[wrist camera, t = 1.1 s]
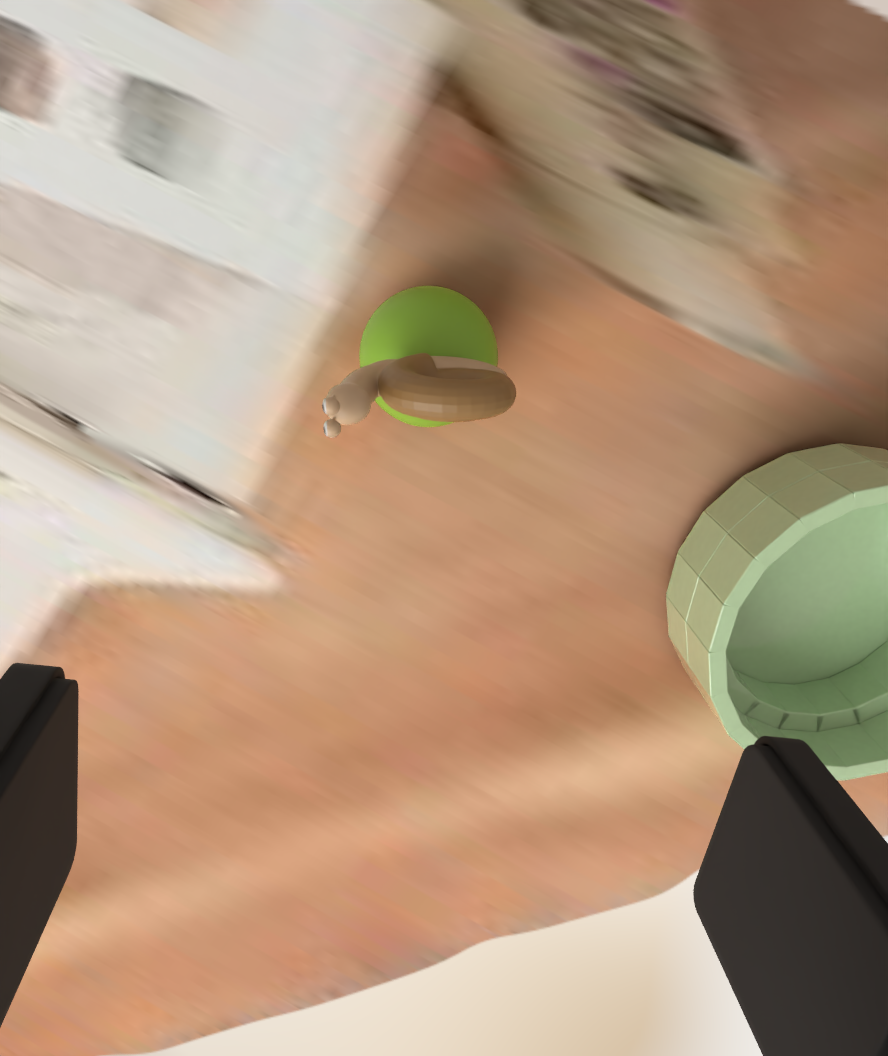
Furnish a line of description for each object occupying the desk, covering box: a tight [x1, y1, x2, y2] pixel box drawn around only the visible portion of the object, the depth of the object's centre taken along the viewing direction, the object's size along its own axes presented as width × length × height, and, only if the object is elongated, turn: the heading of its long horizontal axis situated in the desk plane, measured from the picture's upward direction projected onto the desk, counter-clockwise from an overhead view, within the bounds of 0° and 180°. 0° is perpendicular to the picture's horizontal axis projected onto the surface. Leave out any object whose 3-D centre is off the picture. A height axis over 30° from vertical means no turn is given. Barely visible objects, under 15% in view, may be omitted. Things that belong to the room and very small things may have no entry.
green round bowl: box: [666, 443, 888, 780], centre depth 38 cm, size 15×15×6 cm
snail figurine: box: [322, 286, 516, 438], centre depth 29 cm, size 5×6×12 cm
